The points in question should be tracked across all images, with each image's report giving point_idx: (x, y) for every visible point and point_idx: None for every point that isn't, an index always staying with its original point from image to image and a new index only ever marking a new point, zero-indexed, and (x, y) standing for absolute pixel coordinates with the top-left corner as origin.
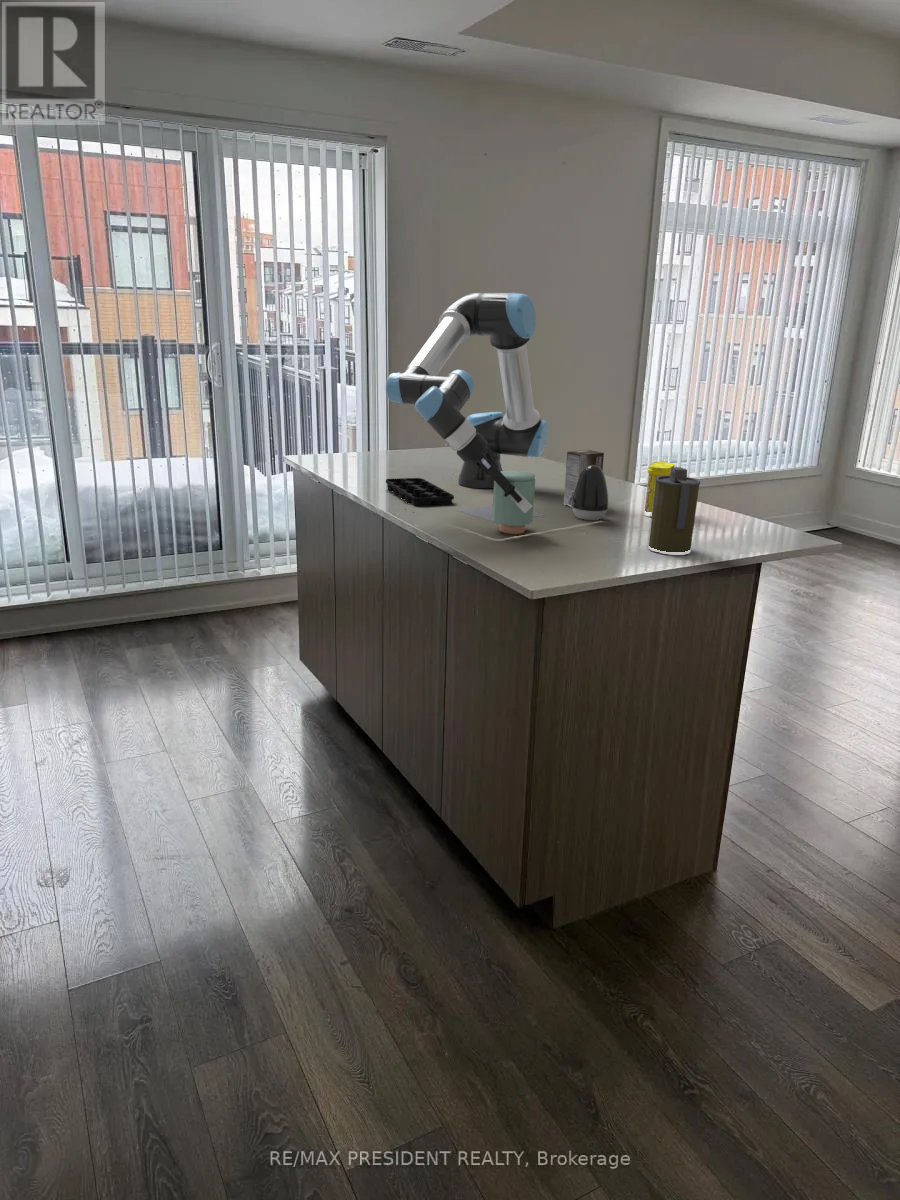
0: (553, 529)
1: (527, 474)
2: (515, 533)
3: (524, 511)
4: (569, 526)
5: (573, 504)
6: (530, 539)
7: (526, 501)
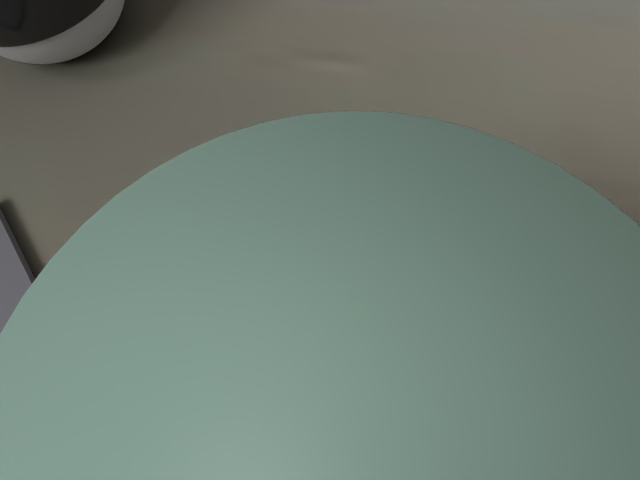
0: None
1: (326, 214)
2: None
3: None
4: (197, 113)
5: (26, 29)
6: None
7: None
